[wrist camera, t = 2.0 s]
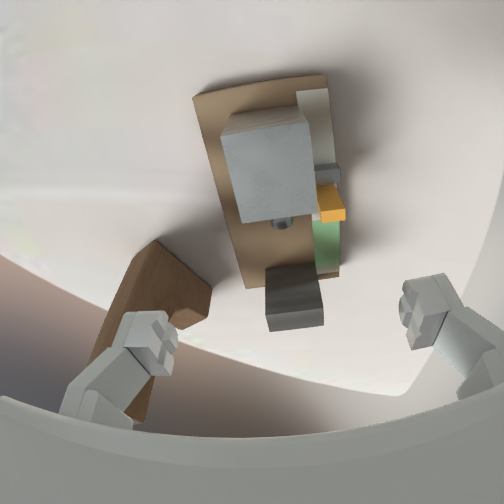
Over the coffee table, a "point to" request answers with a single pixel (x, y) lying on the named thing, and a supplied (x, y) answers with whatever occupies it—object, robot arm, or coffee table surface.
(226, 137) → the block
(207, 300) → the wooden block
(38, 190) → the coffee table surface
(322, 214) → the amber brick
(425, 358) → the coffee table surface
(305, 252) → the bench
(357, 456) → the robot arm
